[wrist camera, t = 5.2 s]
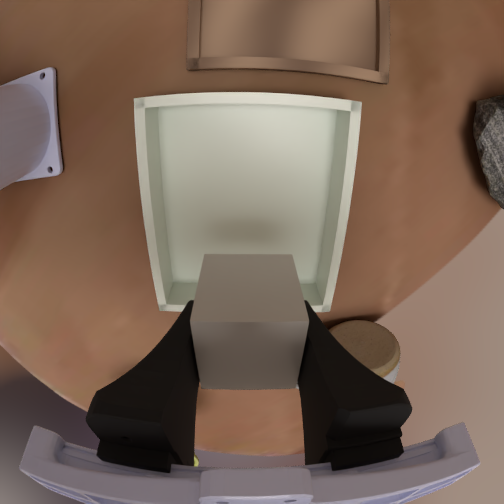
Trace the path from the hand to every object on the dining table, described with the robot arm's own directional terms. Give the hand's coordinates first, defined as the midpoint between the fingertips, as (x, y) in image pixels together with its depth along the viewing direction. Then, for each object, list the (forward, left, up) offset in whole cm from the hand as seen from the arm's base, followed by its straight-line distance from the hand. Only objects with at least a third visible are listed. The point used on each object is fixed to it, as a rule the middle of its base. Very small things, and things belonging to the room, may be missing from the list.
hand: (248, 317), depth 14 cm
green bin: (0, +3, -8) cm, 9 cm away
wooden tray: (+2, +18, -8) cm, 20 cm away
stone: (0, 0, -2) cm, 2 cm away
